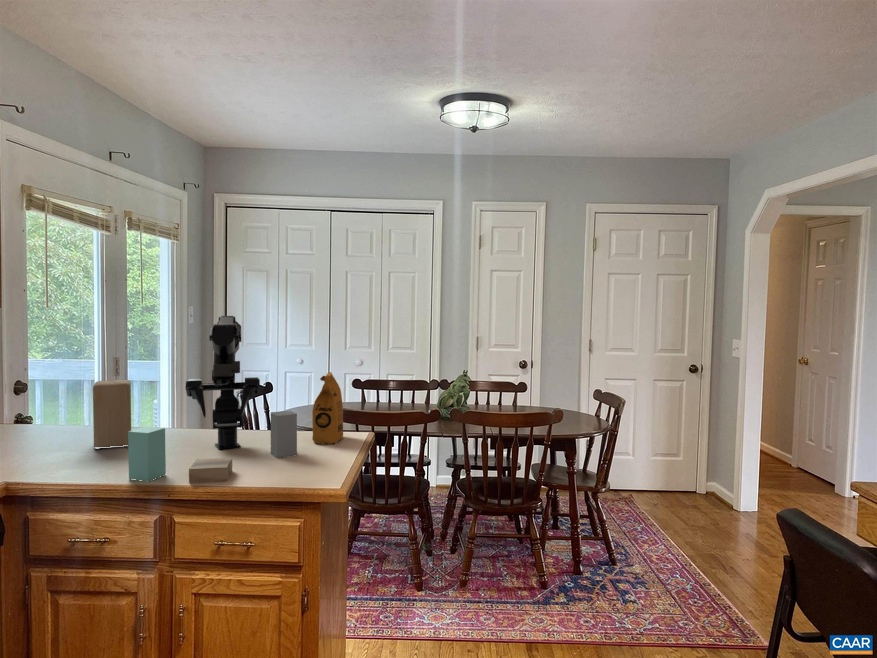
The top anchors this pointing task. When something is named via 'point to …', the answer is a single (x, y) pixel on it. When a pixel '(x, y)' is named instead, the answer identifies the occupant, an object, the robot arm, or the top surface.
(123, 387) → the block
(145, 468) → the teal pillar
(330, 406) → the coffee package
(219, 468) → the taupe square slab
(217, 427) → the robot arm
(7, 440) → the top surface
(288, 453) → the grey rectangular pillar
